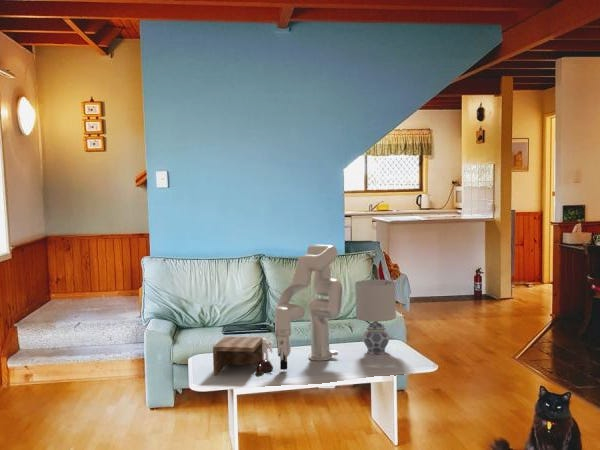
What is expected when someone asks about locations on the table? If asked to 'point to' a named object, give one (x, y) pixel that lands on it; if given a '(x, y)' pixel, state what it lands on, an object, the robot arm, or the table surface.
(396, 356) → the table surface
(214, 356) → the open wooden box
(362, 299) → the lamp
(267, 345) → the cream tall piece
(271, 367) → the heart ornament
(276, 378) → the table surface
